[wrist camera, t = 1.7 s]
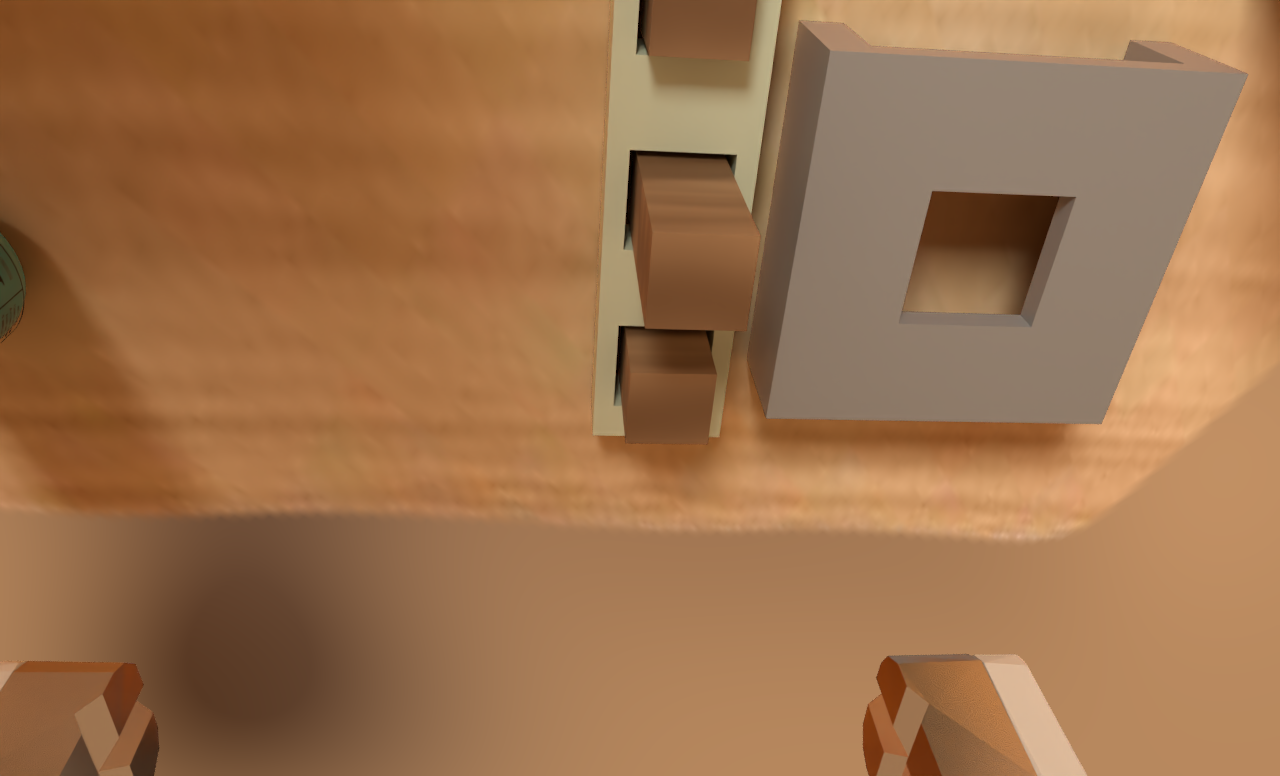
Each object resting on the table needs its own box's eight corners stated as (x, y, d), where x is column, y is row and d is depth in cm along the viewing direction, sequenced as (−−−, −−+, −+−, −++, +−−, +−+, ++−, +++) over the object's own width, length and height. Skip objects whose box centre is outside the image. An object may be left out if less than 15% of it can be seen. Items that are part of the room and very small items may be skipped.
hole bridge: (799, 20, 32) (830, 50, 28) (1171, 42, 33) (1248, 74, 30) (747, 359, 40) (766, 418, 36) (1052, 366, 41) (1101, 424, 37)
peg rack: (617, -137, 29) (621, -132, 27) (782, -125, 30) (798, -119, 28) (591, 402, 40) (592, 435, 38) (711, 404, 41) (719, 437, 39)
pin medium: (622, 302, 38) (630, 372, 33) (698, 304, 38) (717, 374, 34) (618, 367, 40) (625, 443, 35) (690, 369, 40) (707, 444, 35)
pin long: (633, 135, 34) (652, 232, 26) (717, 139, 34) (760, 236, 27) (628, 216, 36) (644, 328, 28) (708, 219, 36) (746, 331, 29)
